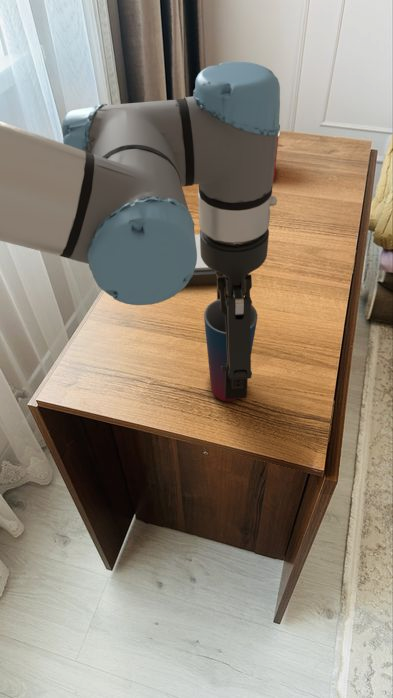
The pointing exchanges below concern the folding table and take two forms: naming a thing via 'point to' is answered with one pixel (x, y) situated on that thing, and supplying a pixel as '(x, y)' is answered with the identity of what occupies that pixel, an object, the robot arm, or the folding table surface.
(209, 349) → the cup
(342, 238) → the folding table surface
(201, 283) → the scale
